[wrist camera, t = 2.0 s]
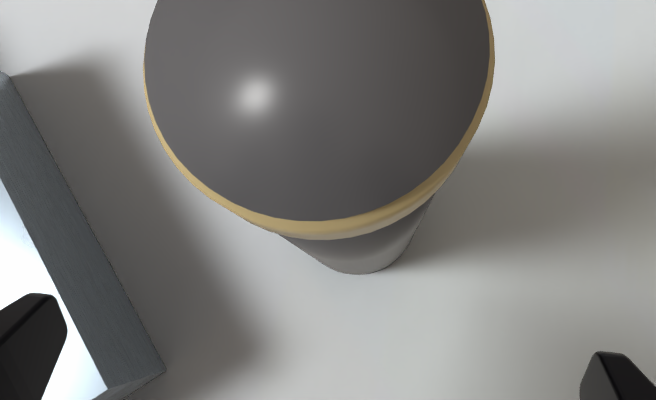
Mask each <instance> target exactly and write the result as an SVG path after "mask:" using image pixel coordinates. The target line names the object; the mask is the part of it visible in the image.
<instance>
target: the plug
mask: <svg viewBox="0 0 656 400" xmlns="http://www.w3.org/2000/svg"><path fill="white" fill-rule="evenodd" d="M494 65H495V52H494V36H493V31H492V25H491V20H490V16H489V13H488V10H487V7H486V4H485V1H484V0H158V1H157V4H156V6H155V9H154V12H153V15H152V17H151V20H150V25H149V29H148V33H147V38H146V45H145V53H144V64H143V75H144V91H145V96H146V102H147V107H148V111H149V114H150V117H151V120H152V123H153V126H154V129H155V132H156V134H157V136H158V138H159V140H160V142H161V144H162V146H163V148H164V150H165V151H166V152H167V154H168V155H169V157H170V158H171V160H172V161H173V163H174V164H175V166H176V167H177V168H178V169H179V170H180V171H181V172H182V174H183V175H184V176H185V177H186V178H187V179H188V180H189V181H190V182H191V183H192V184H193V185H194V186H195V187H196V188H198V189H199V190H200V191H201V192H203V193H204V194H205V195H206V196H207V197H209V198H210V199H212V200H213V201H215V202H217V203H218V204H220V205H222V206H223V207H225V208H227V209H228V210H230V211H231V212H233V213H235V214H236V215H238V216H240V217H241V218H243V219H245V220H246V221H248V222H250V223H251V224H254V225H256V226H258V227H261V228H263V229H265V230H267V231H270V232H274V233H277V234H279V235H280V236H282V237H283V238H285V239H286V240H288V241H289V242H291V243H292V244H294V245H295V246H297V247H298V248H300V249H301V250H303V251H304V252H306V253H307V254H309V255H310V256H312V257H313V258H315V259H316V260H318V261H319V262H321V263H322V264H324V265H326V266H327V267H329V268H331V269H333V270H335V271H338V272H341V273H346V274H354V275H361V274H368V273H372V272H376V271H378V270H381V269H383V268H385V267H387V266H388V265H390V264H391V263H393V262H394V261H395V260H396V259H397V258H398V257H399V256H400V255H401V254H402V253H403V252H404V250H405V249H406V248H407V246H408V244H409V242H410V240H411V239H412V237H413V235H414V233H415V231H416V229H417V227H418V225H419V223H420V221H421V219H422V217H423V215H424V213H425V211H426V210H427V208H428V206H429V204H430V202H431V200H432V198H433V196H434V194H435V192H436V191H437V190H438V189H439V188H440V187H441V186H442V185H443V183H444V182H445V181H446V180H447V178H448V177H449V176H450V174H451V173H452V172H453V170H454V169H455V167H456V165H457V164H458V162H459V160H460V158H461V157H462V155H463V153H464V152H465V150H466V148H467V146H468V144H469V143H470V141H471V139H472V137H473V136H474V134H475V132H476V130H477V129H478V126H479V124H480V122H481V119H482V117H483V114H484V112H485V110H486V107H487V103H488V100H489V96H490V92H491V88H492V83H493V74H494Z"/></svg>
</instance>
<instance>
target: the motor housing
mask: <svg viewBox="0 0 656 400" xmlns="http://www.w3.org/2000/svg"><path fill="white" fill-rule="evenodd" d="M28 293H43V294H51V295H53V296H54V297H55V298H56V299H57V301H58V304H59V306H60V309H61V311H62V314H63V316H64V319H65V321H66V324H67V329H68V333H67V339H66V342H65V344H64V346H63V349H62V351H61V354H60V356H59V359H58V361H57V363H56V366H55V368H54V371H53V373H52V376H51V378H50V380H49V383H48V385H47V388H46V390H45V393H44V395H43V397H42V400H121V399H123V398H124V397H126V396H128V395H129V394H131V393H132V392H134V391H135V390H137V389H138V388H140V387H141V386H143V385H145V384H146V383H148V382H149V381H151V380H152V379H154V378H155V377H157V376H158V375H160V374H162V373H163V372H165V371H166V368H165V366H164V364H163V362H162V361H161V359H160V357H159V355H158V353H157V351H156V349H155V347H154V346H153V344H152V342H151V340H150V338H149V336H148V334H147V333H146V331H145V329H144V327H143V325H142V323H141V321H140V320H139V318H138V316H137V314H136V312H135V310H134V308H133V306H132V305H131V303H130V301H129V299H128V297H127V295H126V293H125V292H124V290H123V288H122V286H121V284H120V282H119V280H118V279H117V277H116V275H115V273H114V271H113V269H112V267H111V266H110V264H109V262H108V260H107V258H106V256H105V254H104V252H103V251H102V249H101V247H100V245H99V243H98V241H97V239H96V238H95V236H94V234H93V232H92V230H91V228H90V226H89V225H88V223H87V221H86V219H85V217H84V215H83V213H82V211H81V210H80V208H79V206H78V204H77V202H76V200H75V198H74V197H73V195H72V193H71V191H70V189H69V187H68V185H67V184H66V182H65V180H64V178H63V176H62V174H61V172H60V171H59V169H58V167H57V165H56V163H55V161H54V159H53V157H52V156H51V154H50V152H49V150H48V148H47V146H46V144H45V143H44V141H43V139H42V137H41V135H40V133H39V131H38V130H37V128H36V126H35V124H34V122H33V120H32V118H31V116H30V115H29V113H28V111H27V109H26V107H25V105H24V103H23V102H22V100H21V98H20V96H19V94H18V92H17V90H16V89H15V87H14V85H13V83H12V81H11V79H10V77H9V76H8V75H6V74H5V73H3V72H1V71H0V309H2V308H4V307H5V306H7V305H9V304H10V303H12V302H14V301H15V300H17V299H19V298H20V297H22V296H24V295H26V294H28Z"/></svg>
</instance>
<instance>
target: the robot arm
mask: <svg viewBox="0 0 656 400" xmlns="http://www.w3.org/2000/svg"><path fill="white" fill-rule="evenodd" d="M67 333H68V329H67V324H66V321H65V319H64V316H63V314H62V311H61V309H60V306H59V304H58V301H57V299H56V298H55V297H54V296H53V295H51V294H43V293H28V294H26V295H24V296H22V297H20V298H19V299H17V300H15V301H14V302H12V303H10V304H9V305H7V306H5V307H4V308H2V309H0V400H42V397H43V395H44V393H45V390H46V388H47V385H48V383H49V380H50V378H51V376H52V373H53V371H54V368H55V366H56V363H57V361H58V359H59V356H60V354H61V351H62V349H63V346H64V344H65V342H66V339H67ZM580 400H656V387H655V386H654V384H653V383H652V382H651V381H650V380H649V379H648V378H647V377H646V376H645V375H644V374H643V373H642V372H641V371H640V370H639V369H638V368H637V367H636V366H635V364H634V363H633V362H632V361H631V360H630V359H629V358H628V357H626V356H625V355H623V354H620V353H613V352H603V351H598V352H596V353H594V354H593V356H592V358H591V360H590V363H589V365H588V367H587V370H586V372H585V374H584V377H583V379H582V381H581V384H580Z"/></svg>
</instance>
